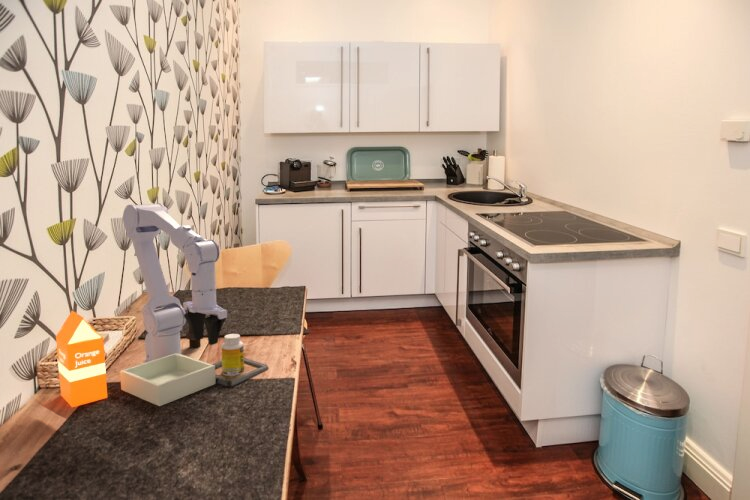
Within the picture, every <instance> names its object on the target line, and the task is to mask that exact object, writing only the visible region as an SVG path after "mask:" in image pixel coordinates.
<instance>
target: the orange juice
mask: <svg viewBox="0 0 750 500" xmlns="http://www.w3.org/2000/svg"><path fill="white" fill-rule="evenodd" d="M55 340H56V352H57V360H58V361H57V364H58V367H57V368H58V374H59V375H58V376H59V386H60V396H61V397H62V398H63V400H65V401H66V403H68V405H69V406H70V407H71V408H75V407H79V406H82V405H86V404H89V403H90V404H91V403H93V402H98V401H100V400H104V399H107V398H108V387H107V369H106V360H105V358H106V357H105V346H104V345H105V344H104V337H103V336H101V335H100V334H99V332H98V331H96V329H94V327H92V325H90V324H89V323H88V322H87V320H85V319H84V316H82V315H80V314H79V313H77V312H75V311H74V310H71V312H70V313H69V314H68V317H67V318H66V319H65V321H64V323H63V325H62V326H61V328H59V331H58V332H57V334H56V335H55Z"/></svg>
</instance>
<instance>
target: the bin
mask: <svg viewBox="0 0 750 500" xmlns="http://www.w3.org/2000/svg"><path fill="white" fill-rule="evenodd" d="M212 364H213V363H208V362H205V361H204V360H203V361H202V360H199V359H196V358H193V357H190V356H188V355H184V354H182V353H181V354H179V353H174V354H171V355H168V356H165V357H162V358H159V359H156V360H152V361H149V362H146V363H143V362H142V363H140V364H137V365H134V366H131V367H128V368H124V369H121V370H120V371H119V377H120V378H119V379H120V389H121V391H123V392H126V393H128V394H130V395H132V396H135V397H137V398H139V399H141V400H144V401H146V402H148V403H151V404H153V405H156V406H158V407H161V406H163V405H166V404H168V403H171V402H175V401H176V400H179V399H181V398H184V397H186V396H188V395H191V394H194V393H196V392H198V391H201V390H204V389H207V388H209V387H211V386H214V385H216V384H217V383H216V381H215V374H216V369H215V365H212Z"/></svg>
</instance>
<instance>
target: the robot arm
mask: <svg viewBox="0 0 750 500" xmlns="http://www.w3.org/2000/svg"><path fill="white" fill-rule="evenodd" d="M122 222H123V227H124V228H125V232H126V234H127V238H129V239H130V240H131V242H132V245H133V248H134V252H135V256H136V259H137V262H138V266H139V270H140V273H141V276H142V279H143V282H144V286H145V289H146V293H147V296H148V297H147V298H148V301H147V302H146V303H145V304H144V305H143V307H142V309H141V312H142V318H143V319H142V323H143V327H144V329H145V331H146V332H147V333H146V335H145V339H144V348H145V349H144V350H145V360H143V361H142V364H143V363H146V362H149V361H152V360H156V359H159V358H162V357H165V356H168V355H171V354H174V353H179V354H182V349H181V348H182V346H181V333H180V332H181V331H183V326H185V324H186V321H187V324H188V323H189V325H190V328H191V330H192V334H193V337H194V340H196V341H197V340H202V339H203V338H204V331H205V330H204V329H205V328H206V334H207V342H208V344H209V345H210V346H212V345H216V344H218V342H219V336H220V334H221V329H222V327H223V325H224V323H225V321H226V319H227V318H228V309H224V308H222V307H221V306H219V305H218V304H217V285H216V282H217V281H216V262H218V260H219V259H220V253H221V252H220V247H219V245H218V243H217V242H216V241H215V240H214V239H204V238H203V236H201V235H200V234H198V233H196V232H195V231H194V230H193V229H192V227H191V226H190V225H180V224H179V223H178V222H177V221H176V220H175V219H173V217H171V215H170V214H169V210H168V208H167V206H165V205H164V204H163V203H161V202H156V203H150V204H149V203H147V204H146V203H145V204H143V203H142V204H127V205H126V206H125V208H124V210H123V214H122ZM161 232H164V233H165V234H167V235H168V236H170V242H171V243H172V245H173V246H175V247H176V248H177V249H178V250H180V251H181V252H182V253H183V254H184V257H185V260H186V262H187V267H188V271H189V273H190V281H191V282H190V283H191V298H192V302H191V301H188V302H184V303H182V304H181V301H180V299H179V298H177V297H176V296H174V295H172V294H170V292H169V289H168V285H167V282H166V279H165V275H164V273H163V269H162V265H161V263H160V259H159V256H158V251H157V249H156V245H155V243H154V241H155V237H158V235H160V233H161ZM187 310H189V312H188V311H187ZM186 311H187V312H186ZM206 316H208V317H206ZM204 326H205V327H204Z"/></svg>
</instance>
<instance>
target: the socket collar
mask: <svg viewBox="0 0 750 500" xmlns="http://www.w3.org/2000/svg"><path fill="white" fill-rule="evenodd" d="M211 364H212V365H215V370H216V369H218V368H220V367H221V368H222V360H219V361H217V362H214V363H211ZM244 364H248V365H251V366H254V367H256V369H254V370H253V369H252V370H250V371H248V372H246V373H243V374H239V375H237V376H235V377H233V378H231V379H230V378H228V377H224V376H222V375H218V374H216V373H215V381H216V384H219V385H222V386H224V387H234V386H236V385H238V384H241V383H243V382H245V381H247V380H248V379H251V378H253V377H255V376H257V375H259V374H261V373H263V372H265V371H267V370H269V369H270V368H269V366H268V365H267V364H266V363H264V362H259V361H257V360H252V359H249V358H245V357H244Z"/></svg>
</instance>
